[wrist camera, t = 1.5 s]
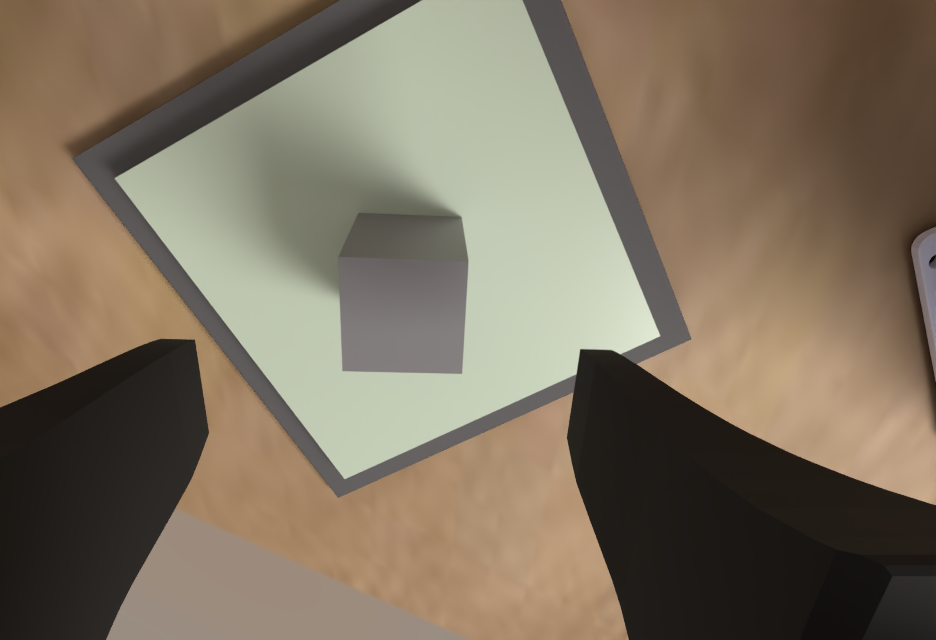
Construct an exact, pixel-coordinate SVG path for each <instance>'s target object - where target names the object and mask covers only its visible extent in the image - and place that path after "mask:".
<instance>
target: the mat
mask: <svg viewBox="0 0 936 640" xmlns="http://www.w3.org/2000/svg"><path fill="white" fill-rule="evenodd" d="M420 1H422V0H339V1H338V2H336V3H334V4H333V5H331V6H329V7H328V8H326V9H324V10H323V11H321V12H319V13H318V14H316V15H314V16H312V17H311V18H309V19H307V20H306V21H304V22H302V23H301V24H299V25H297V26H296V27H294V28H292V29H291V30H289V31H287V32H285V33H284V34H282V35H280V36H279V37H277V38H275V39H274V40H272V41H270V42H269V43H267V44H265V45H264V46H262V47H260V48H258V49H257V50H255V51H253V52H252V53H250V54H248V55H247V56H245V57H243V58H242V59H240V60H238V61H237V62H235V63H233V64H231V65H230V66H228V67H226V68H225V69H223V70H221V71H220V72H218V73H216V74H215V75H213V76H211V77H210V78H208V79H206V80H204V81H203V82H201V83H199V84H198V85H196V86H194V87H193V88H191V89H189V90H188V91H186V92H184V93H183V94H181V95H179V96H177V97H176V98H174V99H172V100H171V101H169V102H167V103H166V104H164V105H162V106H161V107H159V108H157V109H156V110H154V111H152V112H150V113H149V114H147V115H145V116H144V117H142V118H140V119H139V120H137V121H135V122H134V123H132V124H130V125H129V126H127V127H125V128H123V129H122V130H120V131H118V132H117V133H115V134H113V135H112V136H110V137H108V138H107V139H105V140H103V141H102V142H100V143H98V144H96V145H95V146H93V147H91V148H90V149H88V150H86V151H85V152H83V153H81V154H80V155H78V156H76V157H75V158H73V161H74V162H75V163H76V164H77V166H78V167H79V168H80V169H81V171H82V172H83V173H84V175H85V176H86V177H87V178H88V180H89V181H90V182H91V183H92V185H93V186H94V187H95V189H96V190H97V191H98V192H99V194H100V195H101V196H102V197H103V199H104V200H105V201H106V203H107V204H108V205H109V206H110V208H111V209H112V210H113V211H114V213H115V214H116V215H117V217H118V218H119V219H120V220H121V222H122V223H123V224H124V225H125V227H126V228H127V229H128V231H129V232H130V233H131V234H132V236H133V237H134V238H135V239H136V241H137V242H138V243H139V245H140V246H141V247H142V248H143V250H144V251H145V252H146V254H147V255H148V256H149V257H150V259H151V260H152V261H153V262H154V264H155V265H156V266H157V268H158V269H159V270H160V271H161V273H162V274H163V275H164V276H165V278H166V279H167V280H168V282H169V283H170V284H171V285H172V287H173V288H174V289H175V290H176V292H177V293H178V294H179V296H180V297H181V298H182V299H183V301H184V302H185V303H186V304H187V306H188V307H189V308H190V310H191V311H192V312H193V313H194V315H195V316H196V317H197V318H198V320H199V321H200V322H201V324H202V325H203V326H204V327H205V329H206V330H207V331H208V332H209V334H210V335H211V336H212V338H213V339H214V340H215V341H216V343H217V344H218V345H219V347H220V348H221V349H222V350H223V352H224V353H225V354H226V355H227V357H228V358H229V359H230V361H231V362H232V363H233V364H234V366H235V367H236V368H237V369H238V371H239V372H240V373H241V375H242V376H243V377H244V378H245V380H246V381H247V382H248V383H249V385H250V386H251V387H252V389H253V390H254V391H255V392H256V394H257V395H258V396H259V397H260V399H261V400H262V401H263V403H264V404H265V405H266V406H267V408H268V409H269V410H270V411H271V413H272V414H273V415H274V417H275V418H276V419H277V420H278V422H279V423H280V424H281V425H282V427H283V428H284V429H285V431H286V432H287V433H288V434H289V436H290V437H291V438H292V440H293V441H294V442H295V443H296V445H297V446H298V447H299V448H300V450H301V451H302V452H303V454H304V455H305V456H306V457H307V459H308V460H309V461H310V462H311V464H312V465H313V466H314V468H315V469H316V470H317V471H318V473H319V474H320V475H321V476H322V478H323V479H324V480H325V482H326V483H327V484H328V485H329V487H330V488H331V489H332V490H333V492H334V493H335V494H336V496H337V497H338V498H339V497H341V496H343V495H345V494H348V493H350V492H352V491H354V490H357V489H359V488H361V487H363V486H365V485H368V484H370V483H372V482H374V481H377V480H379V479H381V478H383V477H386V476H388V475H390V474H392V473H394V472H397V471H399V470H401V469H403V468H406V467H408V466H410V465H412V464H414V463H417V462H419V461H421V460H423V459H426V458H428V457H430V456H432V455H435V454H437V453H439V452H441V451H443V450H446V449H448V448H450V447H452V446H455V445H457V444H459V443H461V442H463V441H466V440H468V439H470V438H472V437H475V436H477V435H479V434H481V433H484V432H486V431H488V430H490V429H492V428H495V427H497V426H499V425H501V424H504V423H506V422H508V421H510V420H512V419H515V418H517V417H519V416H521V415H524V414H526V413H528V412H530V411H533V410H535V409H537V408H539V407H541V406H544V405H546V404H548V403H550V402H553V401H555V400H557V399H559V398H561V397H564V396H566V395H568V394H570V393H573V392H574V387H575V381H576V375H574V376H571V377H569V378H567V379H565V380H563V381H560V382H558V383H556V384H554V385H552V386H549V387H547V388H545V389H543V390H541V391H538V392H536V393H534V394H532V395H530V396H527V397H525V398H523V399H521V400H519V401H516V402H514V403H512V404H510V405H507V406H505V407H503V408H501V409H499V410H496V411H494V412H492V413H490V414H488V415H485V416H483V417H481V418H479V419H477V420H474V421H472V422H470V423H468V424H466V425H463V426H461V427H459V428H457V429H455V430H452V431H450V432H448V433H446V434H444V435H441V436H439V437H437V438H435V439H433V440H430V441H428V442H426V443H424V444H421V445H419V446H417V447H415V448H413V449H410V450H408V451H406V452H404V453H402V454H399V455H397V456H395V457H393V458H391V459H388V460H386V461H384V462H382V463H380V464H377V465H375V466H373V467H371V468H369V469H366V470H364V471H362V472H360V473H358V474H355V475H353V476H351V477H349V478H347V479H344V478H343V476H342V475H341V474H340V472H339V471H338V470H337V469H336V467H335V466H334V465H333V463H332V462H331V461H330V459H329V458H328V457H327V455H326V454H325V453H324V452H323V450H322V449H321V448H320V446H319V445H318V444H317V442H316V441H315V440H314V438H313V437H312V436H311V435H310V433H309V432H308V431H307V429H306V428H305V427H304V425H303V424H302V423H301V422H300V420H299V419H298V418H297V416H296V415H295V414H294V412H293V411H292V410H291V408H290V407H289V406H288V405H287V403H286V402H285V401H284V399H283V398H282V397H281V395H280V394H279V393H278V391H277V390H276V389H275V388H274V386H273V385H272V384H271V382H270V381H269V380H268V378H267V377H266V376H265V374H264V373H263V372H262V371H261V369H260V368H259V367H258V365H257V364H256V363H255V361H254V360H253V359H252V357H251V356H250V355H249V354H248V352H247V351H246V350H245V348H244V347H243V346H242V344H241V343H240V342H239V340H238V339H237V338H236V337H235V335H234V334H233V333H232V331H231V330H230V329H229V327H228V326H227V325H226V323H225V322H224V321H223V320H222V318H221V317H220V316H219V314H218V313H217V312H216V310H215V309H214V308H213V306H212V305H211V304H210V303H209V301H208V300H207V299H206V297H205V296H204V295H203V293H202V292H201V291H200V289H199V288H198V287H197V286H196V284H195V283H194V282H193V280H192V279H191V278H190V276H189V275H188V274H187V272H186V271H185V270H184V269H183V267H182V266H181V265H180V263H179V262H178V261H177V259H176V258H175V257H174V256H173V254H172V253H171V252H170V250H169V249H168V248H167V246H166V245H165V244H164V242H163V241H162V240H161V239H160V237H159V236H158V235H157V233H156V232H155V231H154V229H153V228H152V227H151V225H150V224H149V223H148V222H147V220H146V219H145V218H144V216H143V215H142V214H141V212H140V211H139V210H138V208H137V207H136V206H135V205H134V203H133V202H132V201H131V199H130V198H129V197H128V195H127V194H126V193H125V191H124V190H123V189H122V188H121V186H120V185H119V184H118V182H117V181H116V180H115V178H116V177H118V176H119V175H121V174H123V173H125V172H126V171H128V170H130V169H131V168H133V167H135V166H137V165H138V164H140V163H142V162H144V161H145V160H147V159H149V158H150V157H152V156H154V155H156V154H157V153H159V152H161V151H163V150H164V149H166V148H168V147H169V146H171V145H173V144H175V143H176V142H178V141H180V140H182V139H183V138H185V137H187V136H188V135H190V134H192V133H194V132H195V131H197V130H199V129H201V128H202V127H204V126H206V125H207V124H209V123H211V122H213V121H214V120H216V119H218V118H220V117H221V116H223V115H225V114H226V113H228V112H230V111H232V110H233V109H235V108H237V107H239V106H240V105H242V104H244V103H245V102H247V101H249V100H251V99H252V98H254V97H256V96H258V95H259V94H261V93H263V92H264V91H266V90H268V89H270V88H271V87H273V86H275V85H277V84H278V83H280V82H282V81H283V80H285V79H287V78H289V77H290V76H292V75H294V74H296V73H297V72H299V71H301V70H302V69H304V68H306V67H308V66H309V65H311V64H313V63H315V62H316V61H318V60H320V59H321V58H323V57H325V56H327V55H328V54H330V53H332V52H334V51H335V50H337V49H339V48H340V47H342V46H344V45H346V44H347V43H349V42H351V41H353V40H354V39H356V38H358V37H359V36H361V35H363V34H365V33H366V32H368V31H370V30H372V29H373V28H375V27H377V26H378V25H380V24H382V23H384V22H385V21H387V20H389V19H391V18H392V17H394V16H396V15H397V14H399V13H401V12H403V11H404V10H406V9H408V8H410V7H411V6H413V5H415V4H416V3H418V2H420ZM523 3H524V5H525V8H526V10H527V12H528V15H529V17H530V20H531V22H532V25H533V27H534V29H535V32H536V34H537V37H538V39H539V42H540V44H541V47H542V49H543V51H544V54H545V56H546V59H547V61H548V64H549V66H550V68H551V71H552V73H553V76H554V78H555V81H556V83H557V85H558V88H559V90H560V93H561V95H562V98H563V100H564V103H565V105H566V107H567V110H568V112H569V115H570V117H571V120H572V122H573V124H574V127H575V129H576V132H577V134H578V137H579V139H580V141H581V144H582V146H583V149H584V151H585V154H586V156H587V159H588V161H589V163H590V166H591V168H592V171H593V173H594V176H595V178H596V180H597V183H598V185H599V188H600V190H601V193H602V195H603V198H604V200H605V202H606V205H607V207H608V210H609V212H610V215H611V217H612V219H613V222H614V224H615V227H616V229H617V232H618V234H619V236H620V239H621V241H622V244H623V246H624V249H625V251H626V254H627V256H628V258H629V261H630V263H631V266H632V268H633V271H634V273H635V275H636V278H637V280H638V283H639V285H640V288H641V290H642V292H643V295H644V297H645V300H646V302H647V305H648V307H649V310H650V312H651V314H652V317H653V319H654V322H655V324H656V327H657V329H658V331H659V334H660V337H657V338H655V339H653V340H651V341H649V342H646V343H644V344H642V345H640V346H638V347H635V348H633V349H631V350H629V351H627V352H624V353H622V354H620V355H622V356H624V357H626V358H627V359H629V360H630V361H632V362H633V363H635V364H637V363H639V362H642V361H644V360H646V359H648V358H651V357H653V356H655V355H657V354H659V353H662V352H664V351H666V350H668V349H671V348H673V347H675V346H677V345H679V344H682V343H684V342H686V341H688V340H691V337H690V334H689V331H688V329H687V326H686V324H685V321H684V318H683V316H682V313H681V311H680V308H679V305H678V303H677V300H676V298H675V295H674V292H673V290H672V287H671V285H670V282H669V279H668V277H667V274H666V272H665V269H664V267H663V264H662V261H661V259H660V256H659V254H658V251H657V248H656V246H655V243H654V241H653V238H652V235H651V233H650V230H649V228H648V225H647V222H646V220H645V217H644V215H643V212H642V209H641V207H640V204H639V202H638V199H637V197H636V194H635V191H634V189H633V186H632V184H631V181H630V178H629V176H628V173H627V171H626V168H625V165H624V163H623V160H622V158H621V155H620V152H619V150H618V147H617V145H616V142H615V139H614V137H613V134H612V132H611V129H610V126H609V124H608V121H607V119H606V116H605V114H604V111H603V108H602V106H601V103H600V101H599V98H598V95H597V93H596V90H595V88H594V85H593V82H592V80H591V77H590V75H589V72H588V69H587V67H586V64H585V62H584V59H583V56H582V54H581V51H580V49H579V46H578V44H577V41H576V38H575V36H574V33H573V31H572V28H571V25H570V23H569V20H568V18H567V15H566V12H565V10H564V7H563V5H562V2H561V0H523Z"/></svg>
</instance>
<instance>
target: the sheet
mask: <svg viewBox="0 0 936 640" xmlns="http://www.w3.org/2000/svg"><path fill="white" fill-rule="evenodd" d="M115 180H116V181H117V182H118V184H119V185H120V186H121V188H122V189H123V190H124V191H125V193H126V194H127V195H128V197H129V198H130V199H131V201H132V202H133V203H134V205H135V206H136V207H137V208H138V210H139V211H140V212H141V214H142V215H143V216H144V218H145V219H146V220H147V222H148V223H149V224H150V225H151V227H152V228H153V229H154V231H155V232H156V233H157V235H158V236H159V237H160V239H161V240H162V241H163V242H164V244H165V245H166V246H167V248H168V249H169V250H170V252H171V253H172V254H173V256H174V257H175V258H176V259H177V261H178V262H179V263H180V265H181V266H182V267H183V269H184V270H185V271H186V272H187V274H188V275H189V276H190V278H191V279H192V280H193V282H194V283H195V284H196V286H197V287H198V288H199V289H200V291H201V292H202V293H203V295H204V296H205V297H206V299H207V300H208V301H209V303H210V304H211V305H212V306H213V308H214V309H215V310H216V312H217V313H218V314H219V316H220V317H221V318H222V320H223V321H224V322H225V323H226V325H227V326H228V327H229V329H230V330H231V331H232V333H233V334H234V335H235V337H236V338H237V339H238V340H239V342H240V343H241V344H242V346H243V347H244V348H245V350H246V351H247V352H248V354H249V355H250V356H251V357H252V359H253V360H254V361H255V363H256V364H257V365H258V367H259V368H260V369H261V371H262V372H263V373H264V374H265V376H266V377H267V378H268V380H269V381H270V382H271V384H272V385H273V386H274V388H275V389H276V390H277V391H278V393H279V394H280V395H281V397H282V398H283V399H284V401H285V402H286V403H287V405H288V406H289V407H290V408H291V410H292V411H293V412H294V414H295V415H296V416H297V418H298V419H299V420H300V422H301V423H302V424H303V425H304V427H305V428H306V429H307V431H308V432H309V433H310V435H311V436H312V437H313V438H314V440H315V441H316V442H317V444H318V445H319V446H320V448H321V449H322V450H323V452H324V453H325V454H326V455H327V457H328V458H329V459H330V461H331V462H332V463H333V465H334V466H335V467H336V469H337V470H338V471H339V472H340V474H341V475H342V476H343V478H344V479H347V478H349V477H351V476H353V475H355V474H358V473H360V472H362V471H364V470H366V469H369V468H371V467H373V466H375V465H377V464H380V463H382V462H384V461H386V460H388V459H391V458H393V457H395V456H397V455H399V454H402V453H404V452H406V451H408V450H410V449H413V448H415V447H417V446H419V445H421V444H424V443H426V442H428V441H430V440H433V439H435V438H437V437H439V436H441V435H444V434H446V433H448V432H450V431H452V430H455V429H457V428H459V427H461V426H463V425H466V424H468V423H470V422H472V421H474V420H477V419H479V418H481V417H483V416H485V415H488V414H490V413H492V412H494V411H496V410H499V409H501V408H503V407H505V406H507V405H510V404H512V403H514V402H516V401H519V400H521V399H523V398H525V397H527V396H530V395H532V394H534V393H536V392H538V391H541V390H543V389H545V388H547V387H549V386H552V385H554V384H556V383H558V382H560V381H563V380H565V379H567V378H569V377H571V376H574V375H576V374H577V367H578V361H579V354H580V349H597V350H613V351H615V352H617V353H619V354H622V353H624V352H627V351H629V350H631V349H633V348H635V347H638V346H640V345H642V344H644V343H646V342H649V341H651V340H653V339H655V338H657V337H660V334H659V331H658V329H657V327H656V324H655V322H654V319H653V317H652V314H651V312H650V310H649V307H648V305H647V302H646V300H645V297H644V295H643V292H642V290H641V288H640V285H639V283H638V280H637V278H636V275H635V273H634V271H633V268H632V266H631V263H630V261H629V258H628V256H627V254H626V251H625V249H624V246H623V244H622V241H621V239H620V236H619V234H618V232H617V229H616V227H615V224H614V222H613V219H612V217H611V215H610V212H609V210H608V207H607V205H606V202H605V200H604V198H603V195H602V193H601V190H600V188H599V185H598V183H597V180H596V178H595V176H594V173H593V171H592V168H591V166H590V163H589V161H588V159H587V156H586V154H585V151H584V149H583V146H582V144H581V141H580V139H579V137H578V134H577V132H576V129H575V127H574V124H573V122H572V120H571V117H570V115H569V112H568V110H567V107H566V105H565V103H564V100H563V98H562V95H561V93H560V90H559V88H558V85H557V83H556V81H555V78H554V76H553V73H552V71H551V68H550V66H549V64H548V61H547V59H546V56H545V54H544V51H543V49H542V47H541V44H540V42H539V39H538V37H537V34H536V32H535V29H534V27H533V25H532V22H531V20H530V17H529V15H528V12H527V10H526V8H525V5H524V3H523V0H422V1H420V2H418V3H416V4H415V5H413V6H411V7H410V8H408V9H406V10H404V11H403V12H401V13H399V14H397V15H396V16H394V17H392V18H391V19H389V20H387V21H385V22H384V23H382V24H380V25H378V26H377V27H375V28H373V29H372V30H370V31H368V32H366V33H365V34H363V35H361V36H359V37H358V38H356V39H354V40H353V41H351V42H349V43H347V44H346V45H344V46H342V47H340V48H339V49H337V50H335V51H334V52H332V53H330V54H328V55H327V56H325V57H323V58H321V59H320V60H318V61H316V62H315V63H313V64H311V65H309V66H308V67H306V68H304V69H302V70H301V71H299V72H297V73H296V74H294V75H292V76H290V77H289V78H287V79H285V80H283V81H282V82H280V83H278V84H277V85H275V86H273V87H271V88H270V89H268V90H266V91H264V92H263V93H261V94H259V95H258V96H256V97H254V98H252V99H251V100H249V101H247V102H245V103H244V104H242V105H240V106H239V107H237V108H235V109H233V110H232V111H230V112H228V113H226V114H225V115H223V116H221V117H220V118H218V119H216V120H214V121H213V122H211V123H209V124H207V125H206V126H204V127H202V128H201V129H199V130H197V131H195V132H194V133H192V134H190V135H188V136H187V137H185V138H183V139H182V140H180V141H178V142H176V143H175V144H173V145H171V146H169V147H168V148H166V149H164V150H163V151H161V152H159V153H157V154H156V155H154V156H152V157H150V158H149V159H147V160H145V161H144V162H142V163H140V164H138V165H137V166H135V167H133V168H131V169H130V170H128V171H126V172H125V173H123V174H121V175H119V176H118V177H116V178H115Z"/></svg>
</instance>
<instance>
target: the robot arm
mask: <svg viewBox="0 0 936 640" xmlns="http://www.w3.org/2000/svg"><path fill="white" fill-rule="evenodd" d="M911 253H912V258H913V263H914V269H915V274H916V279H917V285H918V290H919V295H920V301H921V306H922V311H923V317H924V322H925V327H926V332H927V338H928V343H929V348H930V354H931V359H932V364H933V370H934V375H935V380H936V258H935V259H934V261H933V262H931V263H930V264H929V260H930V259H931V257H933V256H934V255H935V254H936V227H934V228H931V229H929V230H927V231H925V232H923V233H921V234H920V235H918V237H917V238H916V239H915V240H914V242H913V244H912V247H911ZM208 434H209V430H208V423H207V417H206V410H205V404H204V397H203V390H202V384H201V377H200V371H199V364H198V357H197V351H196V344H195V340H182V339H159V340H156V341H152V342H149V343H147V344H144V345H142V346H139V347H137V348H134V349H132V350H130V351H127V352H125V353H123V354H121V355H118V356H116V357H114V358H112V359H110V360H107V361H105V362H103V363H101V364H99V365H97V366H94V367H92V368H90V369H88V370H86V371H83V372H81V373H79V374H77V375H75V376H73V377H70V378H68V379H66V380H64V381H62V382H59V383H57V384H55V385H53V386H50V387H48V388H45V389H43V390H41V391H38V392H36V393H34V394H31V395H29V396H27V397H24V398H22V399H19V400H17V401H15V402H12V403H10V404H8V405H5V406H3V407H1V408H0V640H106V638H107V636H108V634H109V631H110V629H111V627H112V625H113V622H114V620H115V618H116V615H117V613H118V611H119V609H120V607H121V605H122V603H123V601H124V599H125V597H126V595H127V593H128V591H129V589H130V587H131V585H132V583H133V582H134V580H135V578H136V576H137V575H138V573H139V571H140V569H141V568H142V566H143V564H144V562H145V561H146V559H147V557H148V555H149V553H150V552H151V550H152V548H153V546H154V545H155V543H156V541H157V539H158V538H159V536H160V534H161V533H162V531H163V529H164V527H165V525H166V524H167V522H168V520H169V518H170V517H171V515H172V513H173V511H174V510H175V508H176V506H177V504H178V502H179V501H180V499H181V497H182V495H183V493H184V492H185V490H186V488H187V486H188V484H189V482H190V480H191V479H192V476H193V474H194V471H195V469H196V466H197V464H198V461H199V459H200V456H201V453H202V451H203V448H204V445H205V442H206V439H207V437H208ZM567 440H568V445H569V450H570V455H571V460H572V465H573V469H574V474H575V478H576V482H577V485H578V488H579V491H580V494H581V496H582V499H583V502H584V505H585V508H586V510H587V513H588V516H589V519H590V521H591V524H592V527H593V529H594V532H595V535H596V538H597V540H598V543H599V546H600V548H601V551H602V554H603V557H604V559H605V562H606V565H607V567H608V570H609V573H610V575H611V578H612V581H613V584H614V587H615V590H616V593H617V597H618V600H619V603H620V606H621V610H622V614H623V618H624V622H625V626H626V630H627V634H628V638H629V640H936V505H933V504H929V503H926V502H923V501H920V500H917V499H914V498H910V497H907V496H904V495H901V494H898V493H894V492H891V491H888V490H885V489H882V488H879V487H876V486H873V485H871V484H868V483H865V482H862V481H859V480H856V479H854V478H851V477H848V476H846V475H843V474H841V473H838V472H835V471H833V470H830V469H828V468H825V467H823V466H820V465H818V464H815V463H813V462H810V461H808V460H805V459H803V458H801V457H798V456H796V455H794V454H791V453H789V452H787V451H785V450H783V449H781V448H778V447H776V446H774V445H772V444H770V443H768V442H766V441H764V440H762V439H760V438H758V437H756V436H753V435H751V434H749V433H747V432H746V431H744V430H742V429H740V428H738V427H736V426H734V425H732V424H731V423H729V422H727V421H725V420H724V419H722V418H720V417H718V416H717V415H715V414H713V413H711V412H710V411H708V410H706V409H705V408H703V407H701V406H700V405H698V404H696V403H695V402H693V401H692V400H690V399H688V398H687V397H685V396H684V395H682V394H680V393H679V392H677V391H676V390H674V389H673V388H671V387H670V386H668V385H667V384H665V383H664V382H662V381H661V380H659V379H658V378H656V377H655V376H653V375H652V374H650V373H649V372H647V371H646V370H644V369H643V368H641V367H640V366H638V365H637V364H635V363H633V362H632V361H630V360H629V359H627V358H626V357H624V356H622V355H620V354H619V353H617V352H615V351H613V350H597V349H580V354H579V361H578V367H577V374H576V381H575V387H574V394H573V401H572V408H571V414H570V421H569V428H568V434H567Z"/></svg>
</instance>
